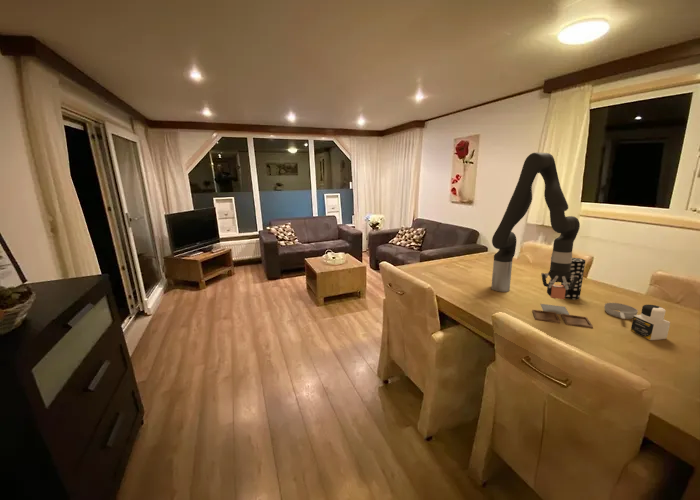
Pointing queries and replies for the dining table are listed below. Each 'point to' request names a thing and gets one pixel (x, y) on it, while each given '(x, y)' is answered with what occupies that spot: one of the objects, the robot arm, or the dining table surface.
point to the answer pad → (555, 309)
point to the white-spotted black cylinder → (578, 270)
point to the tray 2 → (576, 321)
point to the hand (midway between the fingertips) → (556, 295)
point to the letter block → (558, 291)
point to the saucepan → (624, 310)
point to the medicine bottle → (651, 323)
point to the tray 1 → (545, 316)
